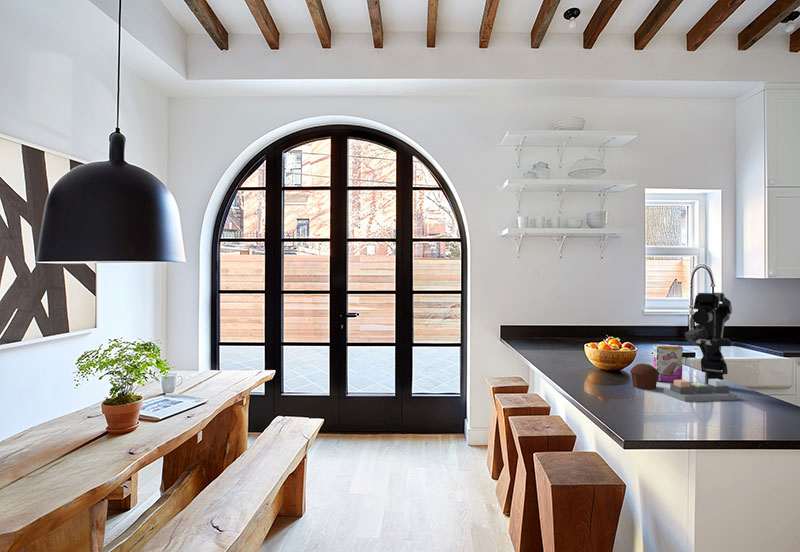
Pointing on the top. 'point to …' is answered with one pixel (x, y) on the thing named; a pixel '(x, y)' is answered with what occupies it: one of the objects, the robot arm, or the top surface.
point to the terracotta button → (681, 383)
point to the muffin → (644, 376)
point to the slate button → (716, 382)
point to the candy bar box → (668, 362)
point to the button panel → (700, 393)
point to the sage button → (699, 384)
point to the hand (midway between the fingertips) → (706, 360)
